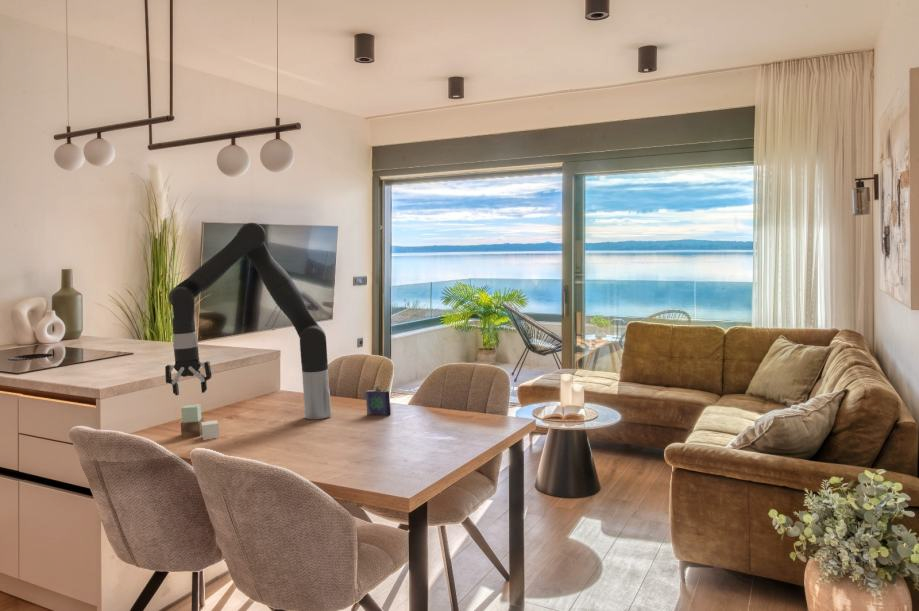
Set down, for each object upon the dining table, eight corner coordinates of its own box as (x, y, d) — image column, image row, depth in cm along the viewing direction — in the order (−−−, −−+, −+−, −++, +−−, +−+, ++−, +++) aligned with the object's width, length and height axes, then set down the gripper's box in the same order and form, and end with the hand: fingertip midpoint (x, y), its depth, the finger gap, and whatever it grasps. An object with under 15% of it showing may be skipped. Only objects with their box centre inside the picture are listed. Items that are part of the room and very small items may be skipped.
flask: (365, 415, 239) (364, 386, 239) (369, 413, 242) (367, 384, 241) (389, 416, 236) (387, 386, 236) (392, 414, 239) (390, 385, 238)
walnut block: (204, 432, 227) (203, 417, 227) (200, 436, 221) (199, 421, 221) (186, 433, 226) (185, 419, 226) (181, 438, 220) (180, 423, 220)
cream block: (218, 434, 222) (217, 420, 222) (219, 438, 218) (218, 423, 217) (202, 437, 220) (201, 422, 220) (203, 440, 216) (202, 425, 215)
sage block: (201, 418, 226) (200, 403, 226) (198, 421, 221) (197, 407, 221) (186, 419, 226) (185, 405, 225) (182, 422, 221) (181, 408, 220)
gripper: (210, 343, 226) (214, 389, 227) (166, 346, 224) (171, 393, 225) (205, 345, 219) (210, 393, 220) (160, 349, 217) (165, 398, 218)
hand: (190, 393), depth 223 cm, fingers open, 8 cm apart
